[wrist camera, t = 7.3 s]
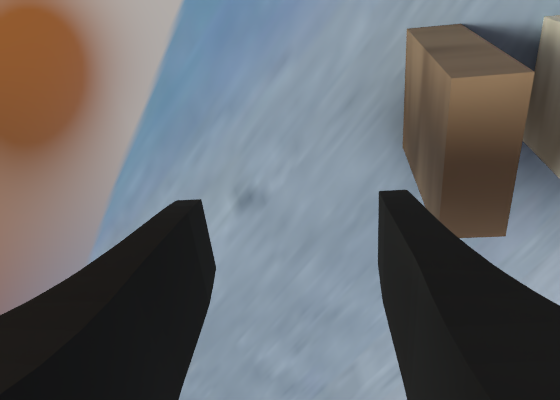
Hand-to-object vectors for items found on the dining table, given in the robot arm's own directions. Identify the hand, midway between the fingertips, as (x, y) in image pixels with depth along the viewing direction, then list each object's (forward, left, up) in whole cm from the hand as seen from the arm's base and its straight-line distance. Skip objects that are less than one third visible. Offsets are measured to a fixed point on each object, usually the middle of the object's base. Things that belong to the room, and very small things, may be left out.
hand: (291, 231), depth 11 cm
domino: (0, -5, -10) cm, 11 cm away
